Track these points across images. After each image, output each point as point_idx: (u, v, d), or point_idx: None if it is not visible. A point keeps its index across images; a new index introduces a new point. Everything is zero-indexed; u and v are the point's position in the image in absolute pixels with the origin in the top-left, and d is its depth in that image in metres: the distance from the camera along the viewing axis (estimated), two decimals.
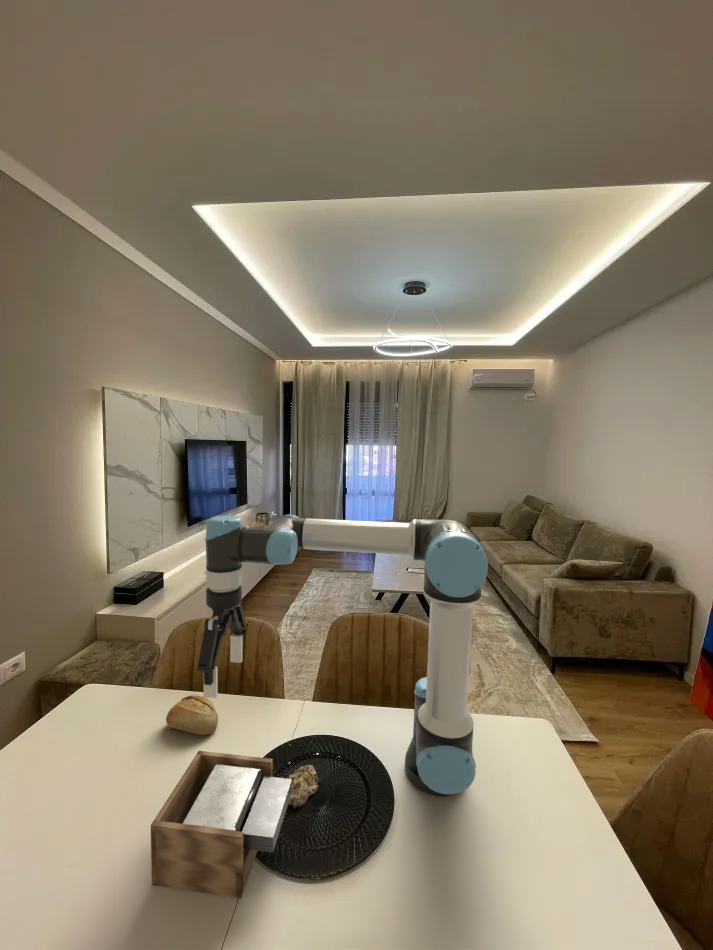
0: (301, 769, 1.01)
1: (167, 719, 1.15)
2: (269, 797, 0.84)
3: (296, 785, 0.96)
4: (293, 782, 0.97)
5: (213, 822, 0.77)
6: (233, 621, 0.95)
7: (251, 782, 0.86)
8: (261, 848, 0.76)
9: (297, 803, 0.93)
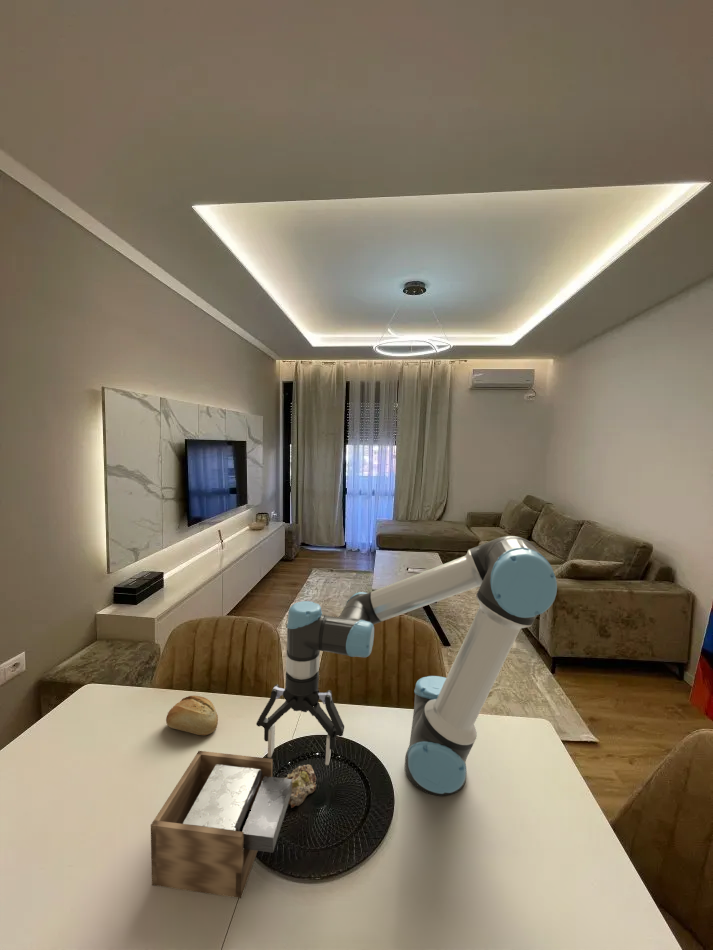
0: (299, 768, 1.01)
1: (167, 719, 1.15)
2: (269, 797, 0.84)
3: (294, 784, 0.96)
4: None
5: (213, 822, 0.77)
6: None
7: (251, 782, 0.86)
8: (261, 848, 0.76)
9: (294, 802, 0.93)
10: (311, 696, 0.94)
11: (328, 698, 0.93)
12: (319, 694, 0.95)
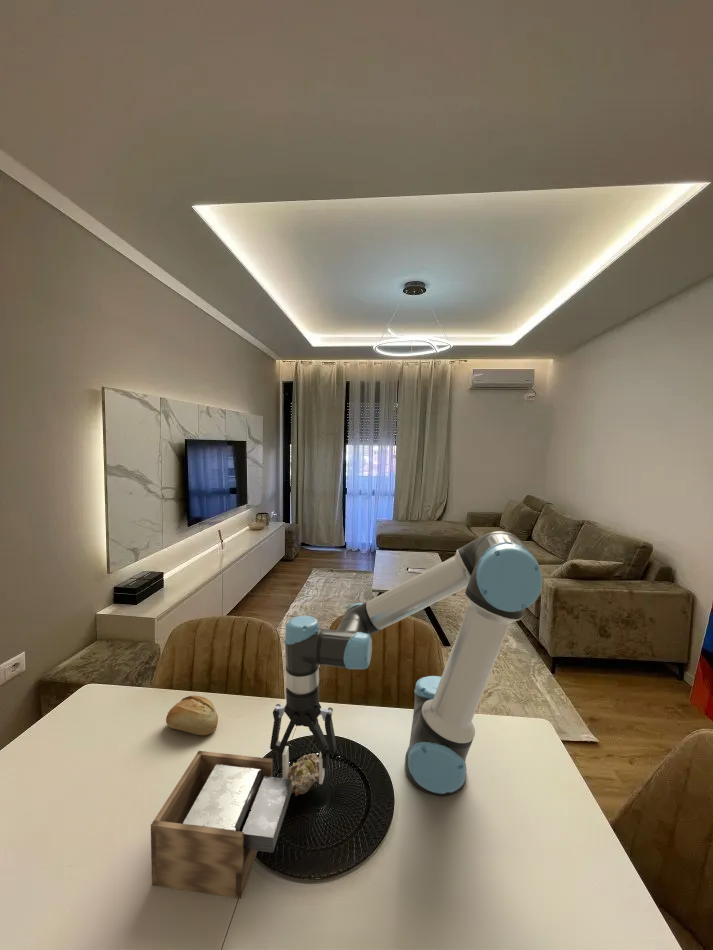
0: (304, 757, 1.00)
1: (167, 719, 1.15)
2: (269, 797, 0.84)
3: (298, 772, 0.95)
4: (296, 770, 0.97)
5: (213, 822, 0.77)
6: None
7: (251, 782, 0.86)
8: (261, 848, 0.76)
9: (299, 790, 0.92)
10: (313, 710, 0.94)
11: (329, 716, 0.94)
12: (321, 709, 0.95)
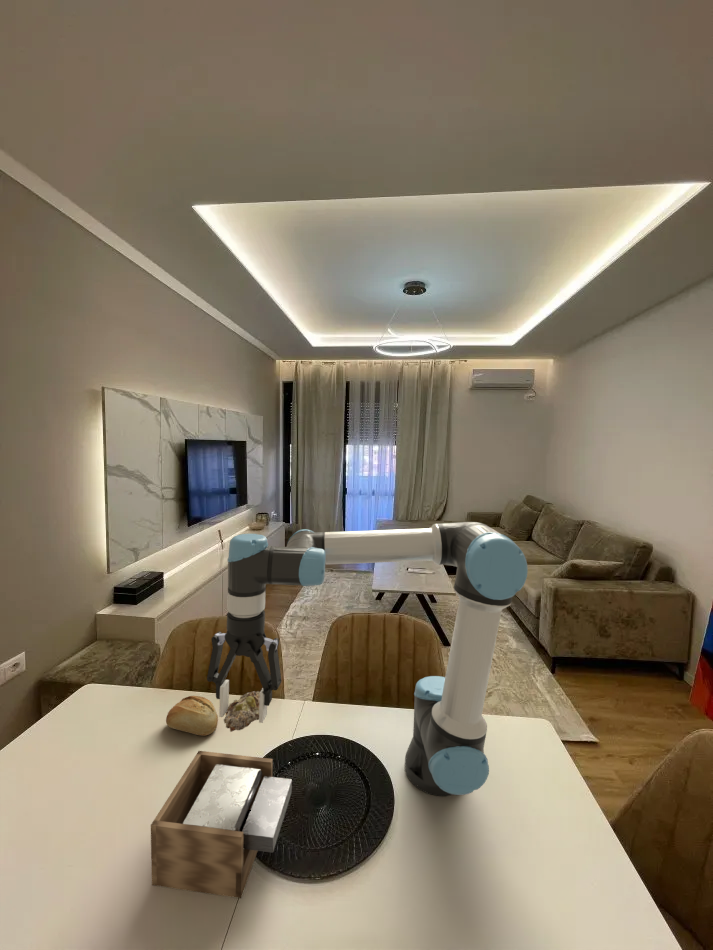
0: (247, 694, 0.90)
1: (167, 719, 1.15)
2: (269, 797, 0.84)
3: (237, 708, 0.85)
4: (235, 706, 0.87)
5: (213, 822, 0.77)
6: None
7: (251, 782, 0.86)
8: (261, 848, 0.76)
9: (234, 725, 0.82)
10: (256, 638, 0.84)
11: (273, 646, 0.83)
12: (265, 639, 0.84)
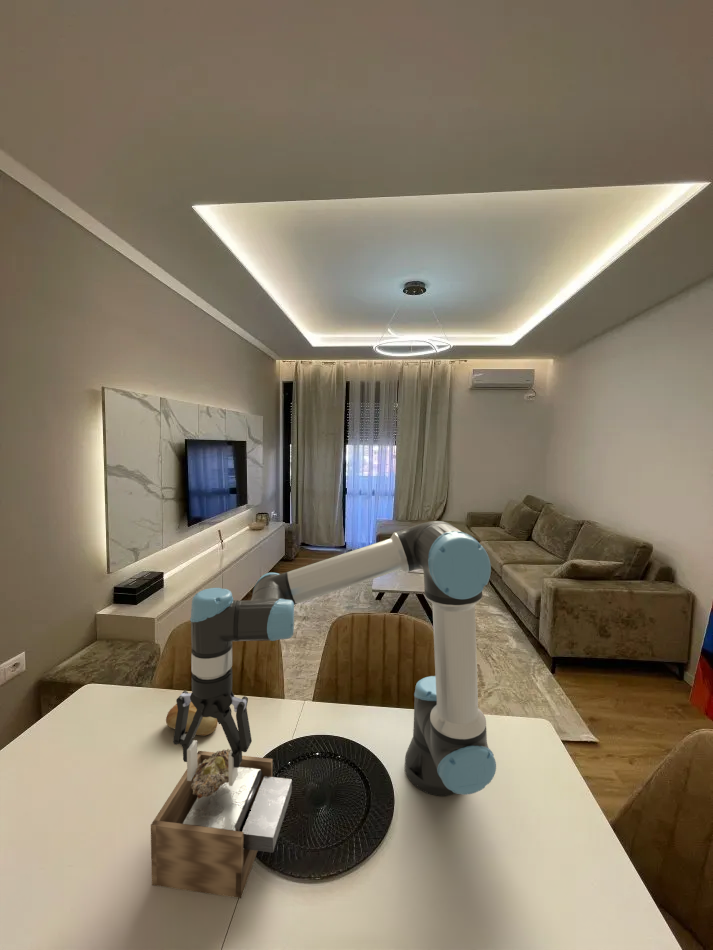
0: (217, 753, 0.86)
1: (167, 719, 1.15)
2: (269, 797, 0.84)
3: (205, 771, 0.81)
4: (204, 768, 0.83)
5: (213, 822, 0.77)
6: None
7: (251, 782, 0.86)
8: (261, 848, 0.76)
9: (202, 792, 0.78)
10: (223, 699, 0.80)
11: (241, 706, 0.79)
12: (233, 698, 0.81)
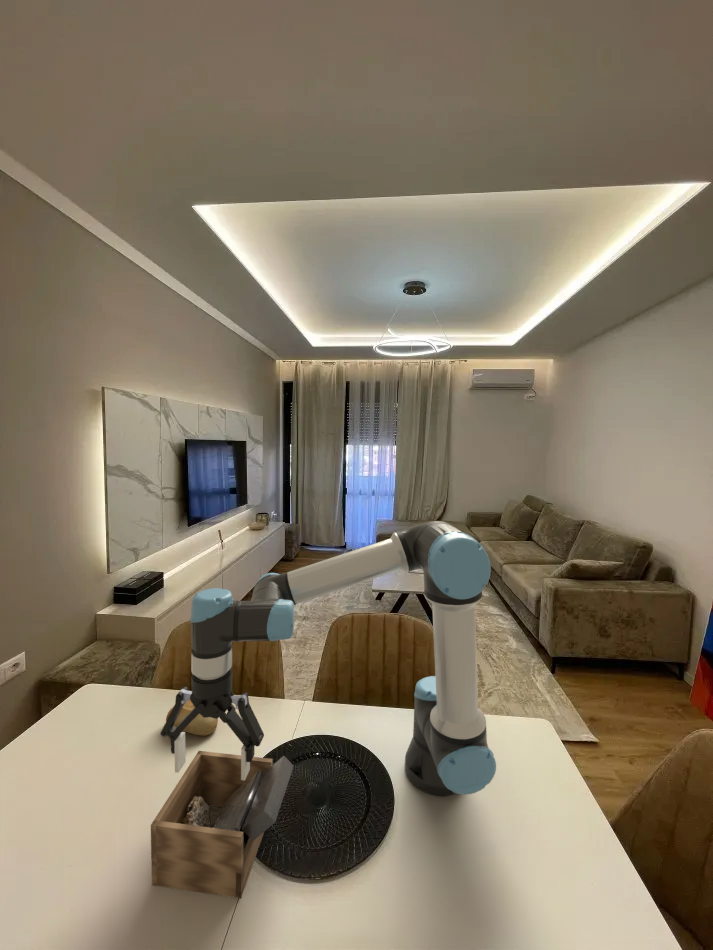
0: None
1: None
2: (265, 784, 0.83)
3: None
4: None
5: None
6: None
7: (250, 785, 0.86)
8: (265, 826, 0.75)
9: None
10: (222, 700, 0.80)
11: (241, 702, 0.79)
12: (232, 697, 0.81)
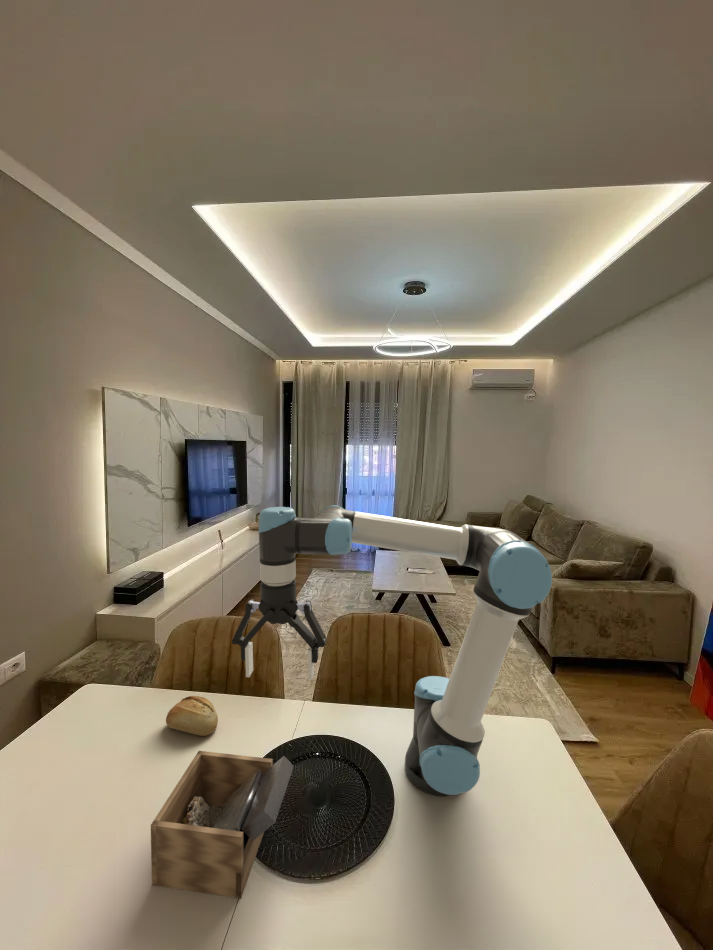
0: None
1: (167, 719, 1.15)
2: (265, 784, 0.83)
3: None
4: None
5: None
6: None
7: (250, 785, 0.86)
8: (265, 827, 0.75)
9: None
10: (289, 606, 0.88)
11: (307, 606, 0.87)
12: (297, 604, 0.88)
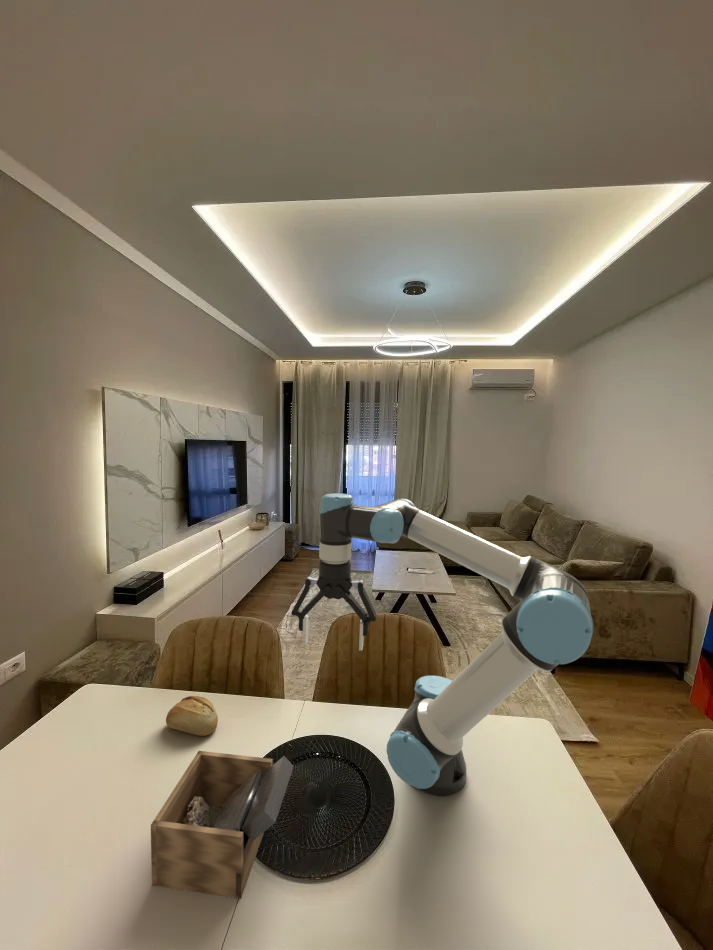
0: None
1: (167, 719, 1.15)
2: (265, 784, 0.83)
3: None
4: None
5: None
6: None
7: (250, 785, 0.86)
8: (265, 827, 0.75)
9: None
10: (344, 583, 0.97)
11: (361, 584, 0.96)
12: (352, 582, 0.98)
